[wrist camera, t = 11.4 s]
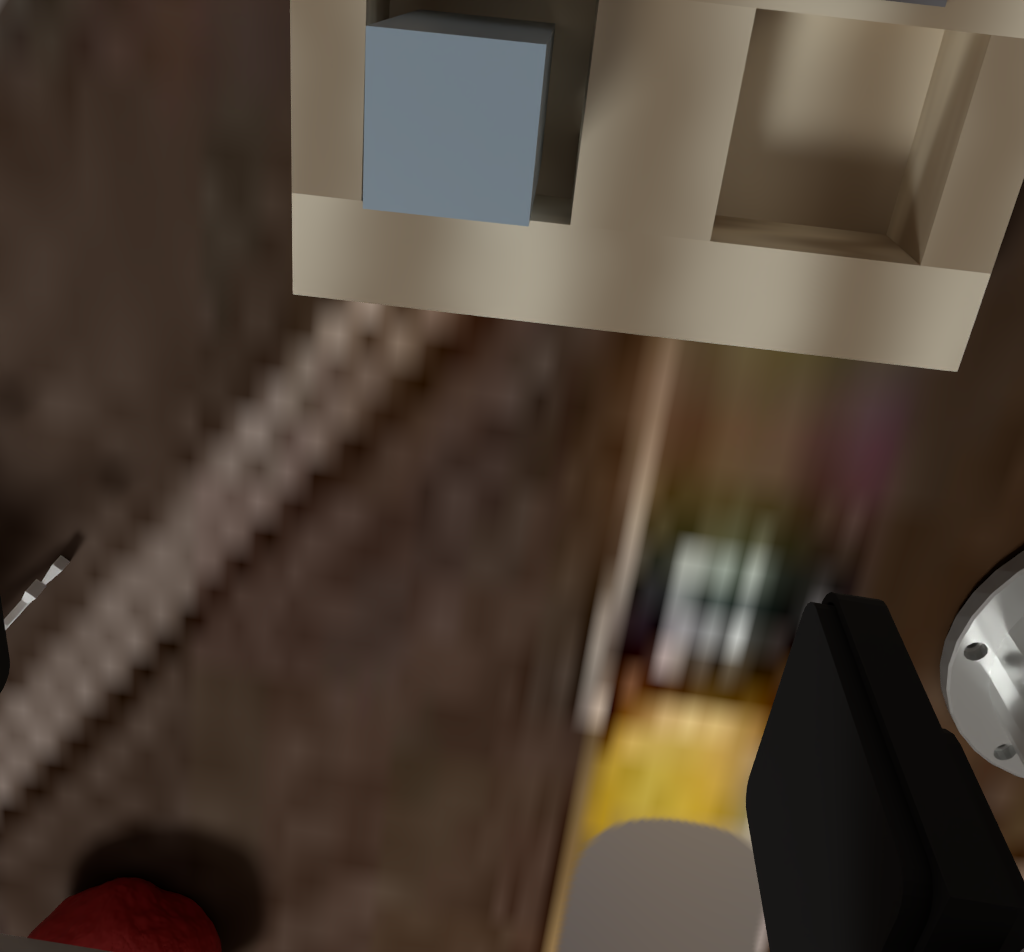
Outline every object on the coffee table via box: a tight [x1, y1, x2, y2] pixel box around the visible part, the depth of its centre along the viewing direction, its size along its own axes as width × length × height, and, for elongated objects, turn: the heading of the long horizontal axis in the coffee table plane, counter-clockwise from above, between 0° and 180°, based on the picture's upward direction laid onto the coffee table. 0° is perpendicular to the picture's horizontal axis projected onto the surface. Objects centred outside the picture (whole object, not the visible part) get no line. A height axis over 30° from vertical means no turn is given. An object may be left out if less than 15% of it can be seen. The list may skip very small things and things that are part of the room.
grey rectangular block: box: [363, 9, 555, 226], centre depth 26 cm, size 4×4×8 cm
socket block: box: [290, 0, 1024, 372], centre depth 28 cm, size 20×12×4 cm, turn 84°
